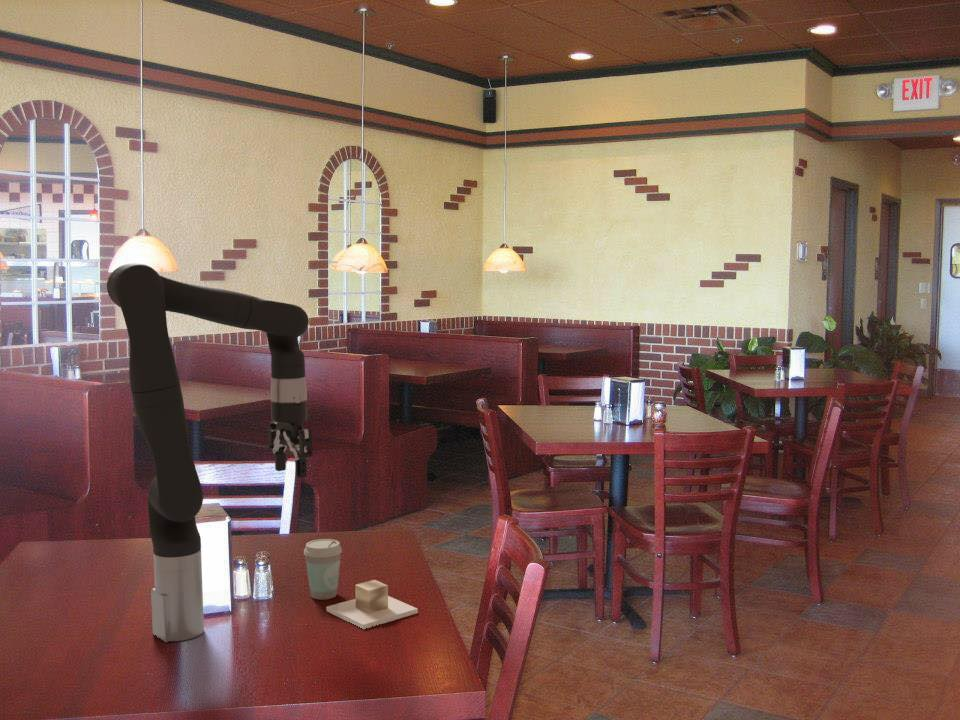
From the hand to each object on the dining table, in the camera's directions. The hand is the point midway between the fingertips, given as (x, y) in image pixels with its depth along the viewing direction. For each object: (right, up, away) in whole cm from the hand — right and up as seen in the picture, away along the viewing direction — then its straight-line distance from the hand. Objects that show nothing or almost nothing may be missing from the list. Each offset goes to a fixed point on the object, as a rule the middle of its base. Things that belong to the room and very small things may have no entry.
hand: (290, 473), depth 210 cm
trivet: (+17, -30, +2) cm, 35 cm away
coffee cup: (+5, -29, +13) cm, 32 cm away
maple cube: (+17, -29, +2) cm, 34 cm away
